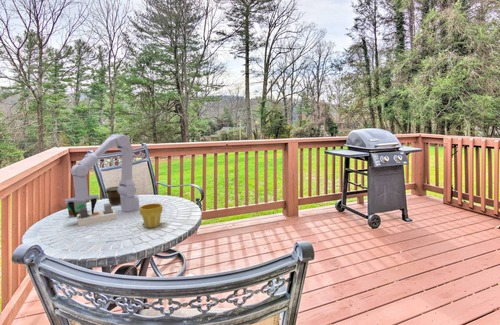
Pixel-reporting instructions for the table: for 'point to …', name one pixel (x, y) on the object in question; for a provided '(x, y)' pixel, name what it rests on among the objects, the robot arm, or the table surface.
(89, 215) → the power strip
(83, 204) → the food container
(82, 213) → the dark grey square prism
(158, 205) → the plant pot
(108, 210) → the charcoal plug
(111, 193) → the ceramic cup
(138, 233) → the table surface
